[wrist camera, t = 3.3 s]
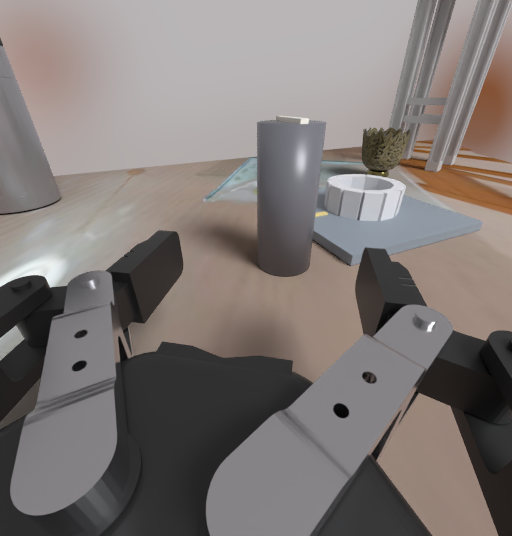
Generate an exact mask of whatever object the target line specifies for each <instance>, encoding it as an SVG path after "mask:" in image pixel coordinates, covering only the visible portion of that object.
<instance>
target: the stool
mask: <svg viewBox="0 0 512 536" xmlns="http://www.w3.org/2000/svg"><path fill="white" fill-rule="evenodd" d="M436 1H437V0H418V3H417V7H416V12H415V16H414V20H413V25H412V29H411V33H410V38H409V42H408V46H407V51H406V56H405V60H404V64H403V69H402V72H401V77H400V81H399V86H398V90H397V95H396V98H395V103H394V107H393V111H392V116H391V121H390V125H389V128H390V127H392V128H394V129H395V130H396V131H397V130H398V129H399V128H401V129H402V133H403V130H404V126H405V123H407V124H406V128H405V132H407V131H408V130H409V129H410V131H412V130H413V131H412V133H411V136H410V138H409V141H408V144H407V146H406V149H405V151H404V154H403V156H402V158H401V159H409V158H411V156H412V153H413V149H414V145H415V142H416V138H417V135H418V131H419V128H420V124H421V123H424V124H439V126H438V129H437V132H436V135H435V138H434V142H433V145H432V148H431V151H430V154H429V157H428V161H427V164H426V167H425V170H428V171H434V172H437V171H439V170H440V169H441V166H442V164H446V165H452V164H454V162H455V159H456V157H457V154H458V151H459V148H460V146H461V143H462V140H463V137H464V135H465V132H466V129H467V126H468V124H469V121H470V118H471V116H472V112H473V110H474V107H475V105H476V102H477V99H478V96H479V93H480V91H481V88H482V85H483V83H484V80H485V77H486V75H487V72H488V69H489V66H490V64H491V61H492V58H493V56H494V53H495V50H496V47H497V45H498V42H499V39H500V36H501V34H502V31H503V28H504V25H505V23H506V20H507V17H508V14H509V12H510V9H511V6H512V0H478V2H477V5H476V9H475V12H474V15H473V18H472V21H471V24H470V28H469V31H468V34H467V37H466V40H465V43H464V46H463V50H462V53H461V56H460V59H459V62H458V65H457V69H456V72H455V75H454V79H453V82H452V84H451V88H450V91H449V94H448V97H447V98H428V96H429V93H430V89H431V86H432V82H433V78H434V75H435V71H436V68H437V64H438V61H439V57H440V54H441V50H442V47H443V43H444V39H445V36H446V33H447V29H448V26H449V22H450V19H451V15H452V11H453V8H454V4H455V1H456V0H439V1H438V5H437V9H436V13H435V17H434V20H433V24H432V28H431V32H430V36H429V40H428V44H427V48H426V51H425V55H424V59H423V63H422V67H421V71H420V74H419V78H418V82H417V86H416V90H415V94H414V97H413V98H412V95H413V91H414V87H415V83H416V79H417V75H418V71H419V67H420V63H421V59H422V55H423V51H424V48H425V43H426V40H427V36H428V32H429V28H430V24H431V20H432V16H433V13H434V9H435V5H436ZM410 105H412V106H411V109H410V113H409V116H407V114H408V110H409V106H410ZM426 105H445V107H444V110H443V113H442V115H434V114H424V110H425V107H426Z"/></svg>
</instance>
